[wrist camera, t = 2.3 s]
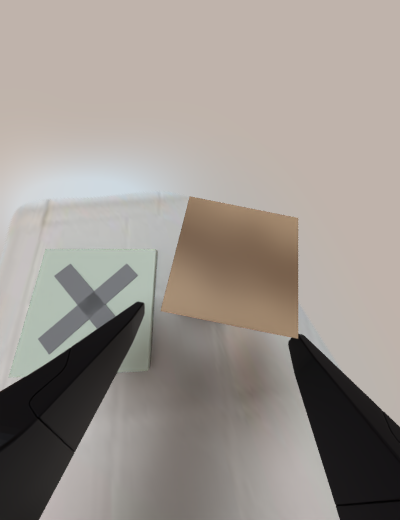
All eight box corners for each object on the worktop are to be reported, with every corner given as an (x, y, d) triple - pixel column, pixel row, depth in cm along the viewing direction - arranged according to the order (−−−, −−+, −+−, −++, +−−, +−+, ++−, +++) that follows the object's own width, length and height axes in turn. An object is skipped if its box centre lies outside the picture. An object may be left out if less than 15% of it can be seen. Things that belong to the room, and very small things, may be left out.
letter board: (149, 368, 17) (147, 371, 16) (17, 373, 16) (7, 378, 15) (157, 251, 21) (155, 248, 20) (51, 251, 20) (44, 248, 19)
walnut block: (227, 314, 19) (297, 338, 6) (181, 305, 19) (160, 310, 6) (233, 269, 20) (298, 218, 8) (190, 261, 20) (189, 196, 8)
